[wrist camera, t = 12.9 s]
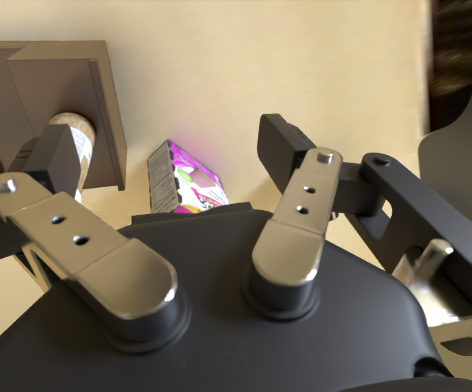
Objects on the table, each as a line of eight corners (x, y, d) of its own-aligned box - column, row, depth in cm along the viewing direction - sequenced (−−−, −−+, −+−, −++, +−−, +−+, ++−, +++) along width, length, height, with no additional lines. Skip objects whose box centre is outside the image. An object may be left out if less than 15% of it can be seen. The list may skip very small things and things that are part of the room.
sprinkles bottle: (85, 159, 33) (61, 246, 22) (39, 138, 30) (-11, 226, 20) (104, 125, 31) (89, 203, 21) (58, 101, 29) (14, 174, 19)
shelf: (-49, 41, 31) (-112, 65, 23) (105, 40, 35) (96, 61, 27) (6, 160, 40) (-26, 207, 32) (127, 149, 43) (124, 190, 35)
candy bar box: (220, 176, 50) (250, 247, 37) (200, 196, 51) (221, 271, 38) (167, 135, 43) (181, 204, 31) (145, 159, 45) (149, 234, 32)
